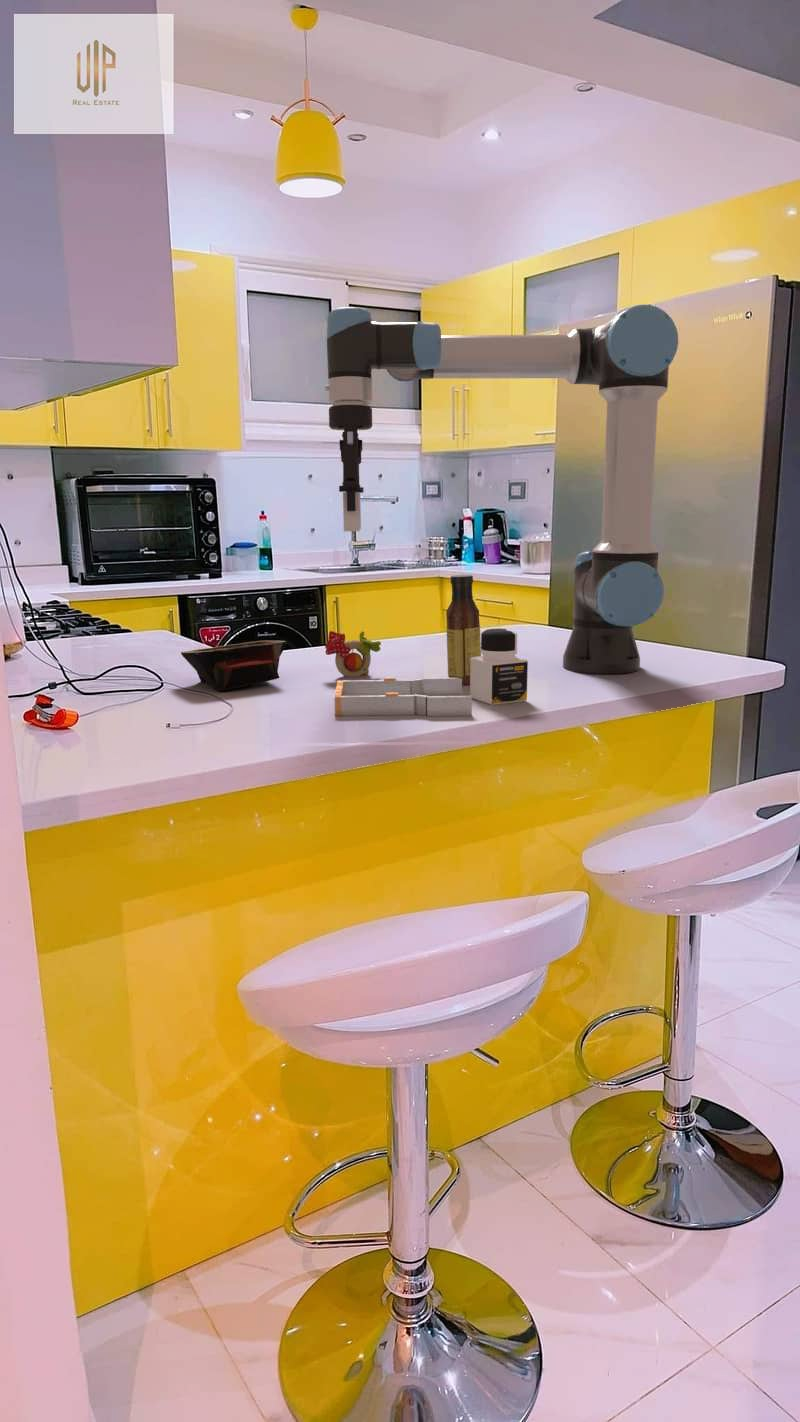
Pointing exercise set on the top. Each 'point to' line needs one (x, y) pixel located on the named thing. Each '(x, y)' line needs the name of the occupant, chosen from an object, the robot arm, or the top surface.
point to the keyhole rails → (402, 697)
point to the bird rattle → (351, 661)
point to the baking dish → (237, 663)
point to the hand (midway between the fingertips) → (352, 530)
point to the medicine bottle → (498, 669)
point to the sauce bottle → (462, 629)
